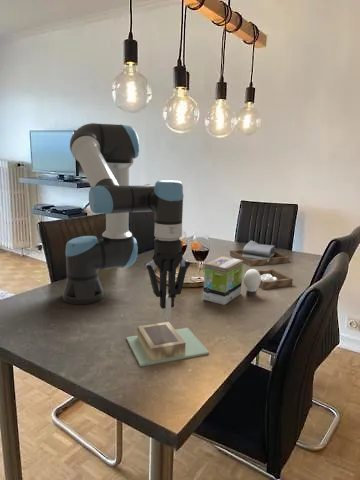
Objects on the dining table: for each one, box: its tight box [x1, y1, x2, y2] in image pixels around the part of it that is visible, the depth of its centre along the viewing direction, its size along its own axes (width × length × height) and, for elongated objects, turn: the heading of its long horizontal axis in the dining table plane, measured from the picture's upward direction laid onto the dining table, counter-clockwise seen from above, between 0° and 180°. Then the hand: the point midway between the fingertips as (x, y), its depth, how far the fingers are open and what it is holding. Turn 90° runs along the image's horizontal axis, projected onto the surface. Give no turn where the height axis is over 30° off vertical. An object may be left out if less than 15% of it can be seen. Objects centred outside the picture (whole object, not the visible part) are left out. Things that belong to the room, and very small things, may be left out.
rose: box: [261, 274, 278, 281], centre depth 165 cm, size 10×4×10 cm
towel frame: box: [229, 249, 290, 267], centre depth 204 cm, size 24×21×3 cm
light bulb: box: [243, 268, 261, 298], centre depth 150 cm, size 7×7×11 cm
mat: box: [125, 327, 210, 367], centre depth 109 cm, size 20×16×1 cm
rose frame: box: [244, 268, 293, 290], centre depth 167 cm, size 15×15×3 cm
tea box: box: [202, 255, 244, 306], centre depth 147 cm, size 15×10×15 cm
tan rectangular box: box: [136, 321, 186, 360], centre depth 108 cm, size 4×14×10 cm
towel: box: [242, 239, 276, 262], centre depth 204 cm, size 15×18×8 cm
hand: (166, 317), depth 107 cm, fingers closed
